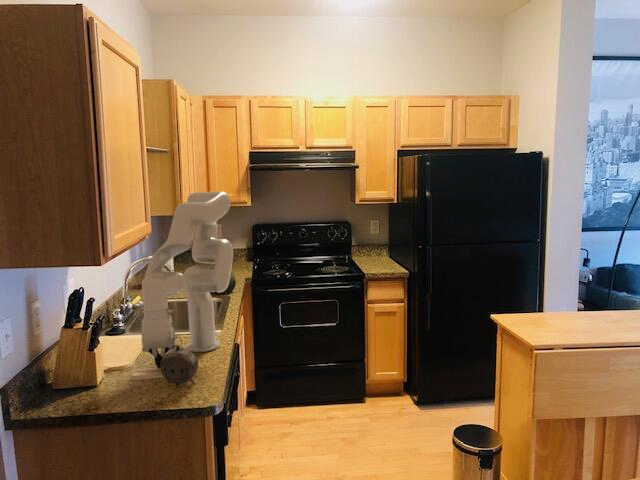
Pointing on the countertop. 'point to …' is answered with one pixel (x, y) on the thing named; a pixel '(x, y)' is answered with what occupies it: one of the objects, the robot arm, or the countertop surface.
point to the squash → (231, 283)
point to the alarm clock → (179, 365)
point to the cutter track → (147, 373)
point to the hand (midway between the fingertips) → (160, 366)
